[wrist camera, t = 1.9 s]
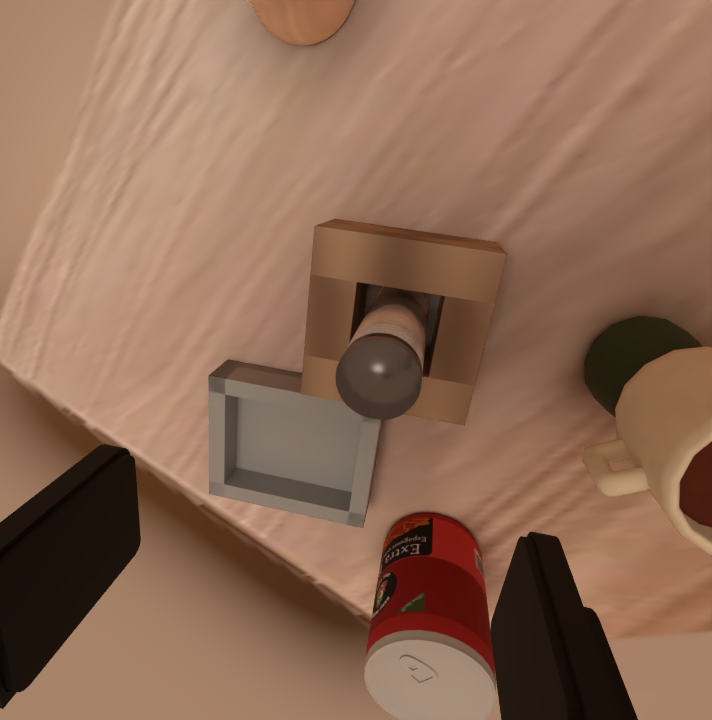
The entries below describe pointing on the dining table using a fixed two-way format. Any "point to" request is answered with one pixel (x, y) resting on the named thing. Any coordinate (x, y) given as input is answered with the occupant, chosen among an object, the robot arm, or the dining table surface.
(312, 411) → the tray
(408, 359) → the pin
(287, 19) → the beer glass
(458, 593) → the canned food
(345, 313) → the block
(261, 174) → the dining table surface
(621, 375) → the character mug
